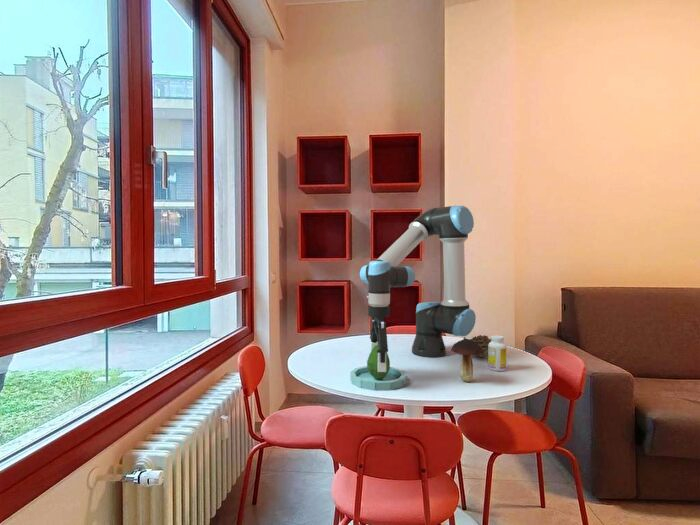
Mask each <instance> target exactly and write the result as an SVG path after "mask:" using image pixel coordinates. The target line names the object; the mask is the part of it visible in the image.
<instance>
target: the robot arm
mask: <svg viewBox="0 0 700 525" xmlns="http://www.w3.org/2000/svg"><path fill="white" fill-rule="evenodd" d="M474 222H475V221H474V217H473V213H472V212H471V210H470V209H469V208H468V207H466V206H465V205H451V206H450V205H449V206H442V207H432V208H430V209H427V210H426V211H423V213H421V214H420V215H418V216H417V217H416V218H414V220H412V221H411V223H410V224H409V225H408V229H407V230H406V231H405V232H404V233H403V234H401V236H400V237H399V238H397V239H396V240H395V241H394V242H393V243H392V244H391V245H390V246H389V247H388V248H387V249H386V250H385V251H384V252H383V253H382V254H381V255H380V256H379V257H378V258H377V259H376V260H372V261H369V263H368V264H366V265H363V266H362V267H361V268H360V270H359V278H360V280H361V282H362V283H364V284H367V285H368V287H367V288H368V295H366V299H367V300H368V306H367V315H368V317H370V318H371V328H370V336H369V339H370V352H371V351H372V349H373V348H374V346H376V345H378V348H379V350H377V353H378V372H386V353H387V354H388V353H389V345H388V333H387V322H386V321H385V319H384V318H389V317H390V314H391V312H390V310H391V307H390V304H391V288H406V287H410V286H412V285H413V284H414V282H415V280H416V278H415V277H416V274H415V271H414V270H413V268H412V267H410V266H408V265H407V266H406V265H400V266H399V264H400V263H401V262H403V260H405V258H406V257H407V256H408V255H409V254H410V253H411V252H413V250H414V249H415V248H417V246H418V245H419V244H420V243H421V242H424V241H426V240H427V239H428V238H429V237H433V236H438V238H439V241H440V242H441V243H442V254H443V257H442V259H443V292H444V293H443V296H444V297H443V300H442V301H428V302H427V301H425V302H418V304H417V305H416V308H415V310H416V311H415V337H414V339H413V343H412V346H411V353H412V354H413V355H415V356H418V357H424V358H425V357H427V358H439V357H440V358H441V357H444V356H446V354H447V349H446V344H445V342H444V338H443V334H446V335H447V334H448V335H453V336H456V337H457V336H459V337H466V336H468V335H470V333H471V332H472V331H473V329H474V327H475V325H476V321H477V320H476V318H477V317H476V313H475V311H474V310H473V309H472V308H470V303H469V301H468V300H467V299H466V270H465V269H466V268H465V265H466V264H465V260H466V259H465V242H466V241H467V240H468V238H469V234H470V233H472V231H473V230H474V229H473V228H474V224H475V223H474Z"/></svg>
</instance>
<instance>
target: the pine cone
mask: <svg viewBox="0 0 700 525" xmlns="http://www.w3.org/2000/svg"><path fill="white" fill-rule="evenodd" d="M463 339H467V338H466V336H463ZM469 339H470V340H472V341H474V342H476V343H477V344H478V345H480V346H481V348H482V349H483V353H480V354H478V355H475V356H476V357H478V358H479V357H481V358H485V357H487V358H488V344H489V343H490V342H492V340H491V338H489V336H488V335H481V334H479V335H477V336H476V335H474V337H472V338H469Z"/></svg>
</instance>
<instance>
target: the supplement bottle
mask: <svg viewBox="0 0 700 525" xmlns="http://www.w3.org/2000/svg"><path fill="white" fill-rule="evenodd" d="M490 339H491V341H492V342H490V343H489V344H488V357H487V368H488V369H489V370H490V371H494V372H505V371H507V348H508V347H507V344H506V343H504V340H505V336H503V335H491V336H490Z"/></svg>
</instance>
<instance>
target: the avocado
mask: <svg viewBox="0 0 700 525" xmlns="http://www.w3.org/2000/svg"><path fill="white" fill-rule="evenodd" d="M377 350H379V348H378V345H376V346H374V348H373V349H372V351H371V350H370V353H369V355H368V357H367V358H368V359H367V360H366V366H367V368H368V371H369V373H370V374H371V375H372V376H373V377H374V378H377V379H383V378H384V377H385V376H386V375H387V374H388V372H389V369H390V367H391V362H390V358H389V354H388V352H387V353H386V372H378V353H377Z"/></svg>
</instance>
